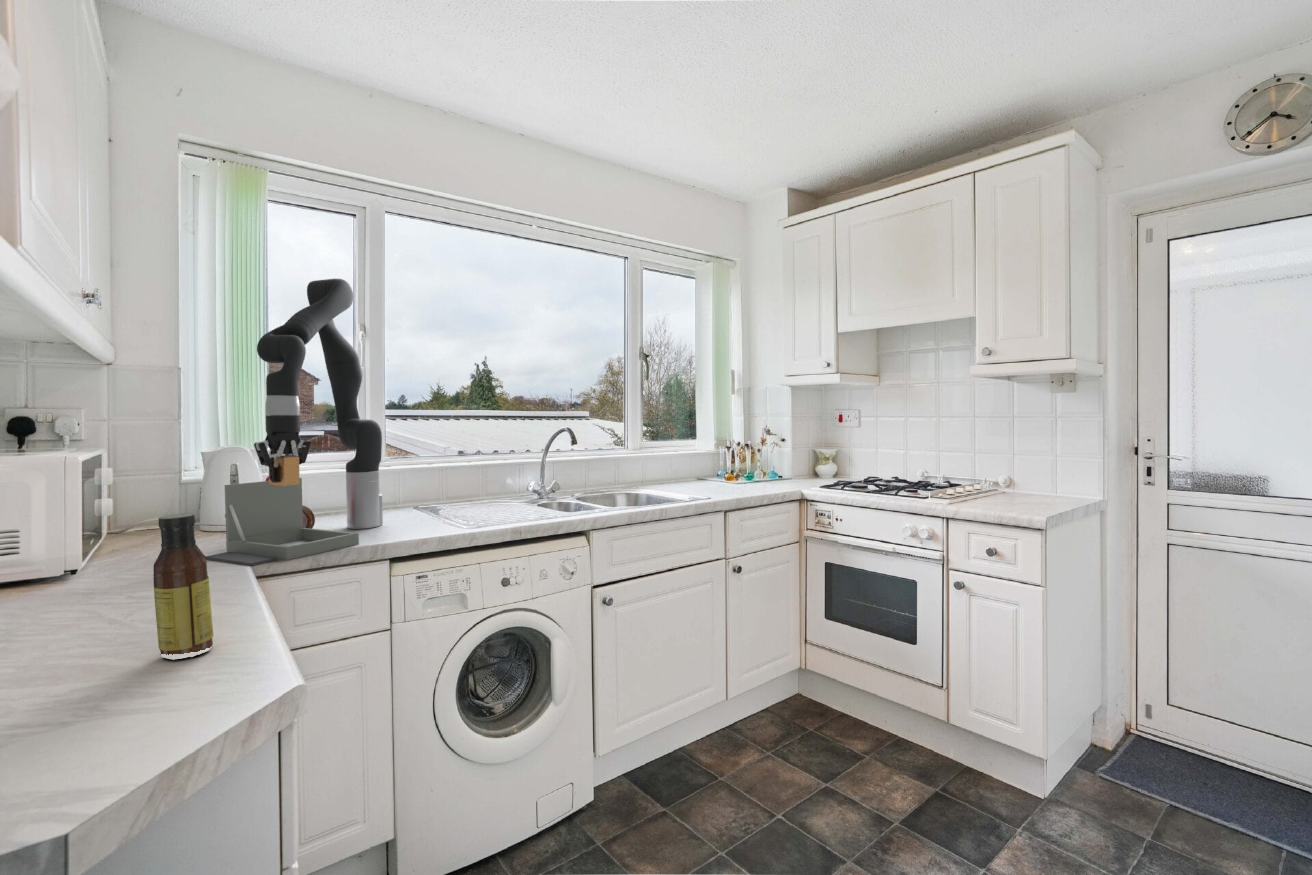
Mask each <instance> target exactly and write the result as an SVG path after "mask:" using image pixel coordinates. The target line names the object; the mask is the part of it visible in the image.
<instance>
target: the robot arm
mask: <svg viewBox="0 0 1312 875" xmlns="http://www.w3.org/2000/svg"><path fill="white" fill-rule="evenodd" d="M306 297H307V302H308V304H309V305H308V306H306V307H304V308H301V309H300V310H298V311H297V312H295V313H294V314H293V315H292V316H290V318H289V319H287V321H286V322H285V323H284V324H282V325H280V326H278V327H276V328H274V329H272V330H270V331H268V332H266V333H264V334H263V335H262V336H261V338H259V340H258V342H257V345H256V351H257V354H258V356H259V359H261V360H262V361H263V362H266V363H270V364H283V365H282V366H281V368H280V370H278V371H274V372H270V373H268V374H267V375H266V378H265V385H266V386H265V388H266V389H265V391H266V393H265V394H266V397H265V398H266V399H265V404H264V405H265V406H264V410H265V411H264V413H265V432H266V437H265V438H264V440H262V441H259V442H254V444H253V447H254V449H255V452H256V456H257V457H258V461H259V463H260V465H261V466H265V467H268V476H269V479H270V480H271V482H273V483H277V482H279V468H278V466H279V459H280V458H282V455H297V457H299V466H300V465H302V464H305V463H306V462H307V458H308V455H309V452H310V448H311V445H312V444H311V441H309V440H304V439H301V436H300V432H301V411H300V410H301V406H300V405H301V404H300V400H299V398H300V397H299V379H300V376H301V372H302V367H303V365H304V361H305V358H306V355H307V354H306V353H307V352H306V351H307V349H306V345H307V344H309V342H310V341H312V339H313V338H314V337H315V335H316V334H318V335H319V339H320V344H321V347H322V352H323V357H324V363H325V367H326V370H327V376H328V378H329V379H328V380H329V382H330V388H331V392H332V397H333V402H334V408H335V414H336V425H337V432H338V436H339V440H340V442H341V444H342V445H343V446H344V447H345V448H346V449H348V450H355V455H354V457H353V458H352V459H351V460H349V461H348V462H346V464H345V481H346V482H345V483H346V484H345V486H346V488H345V489H346V490H345V492H346V523H347V525H346V526H347V529H352V530H354V529H355V530H358V529H372V528H376V527H380V526H383V525H384V522H383V520H384V519H383V517H384V516H383V515H384V514H383V494H380V471H379V470H380V464H381V461H382V452H383V451H382V448H383V446H382V445H383V434H382V429H381V426H380V424H378V422H377V421H375V420H372V419H365V418H364V419H363V418H362V419H361V417H360V415H359V410H358V395H359V393H360V390H361V389H360V388H361V386H362V381H363V372H362V371H363V370H362V367H361V362H360V361H361V360H360V357H359V354H358V352H357V351H356V349H355V348H354V346H352V345H351V343H350V342H349V340H347V339H346V338H345V337H344V336H343V334H341V332H340V331H339V329H338V327H337V326H336V324H335V321H334V319H335V318H336V317H338V316H339V315H340V314H342V313H344V312H346V311H347V310H348V309H349V308H351V306H352V305H353V302H354V291H353V289H352V286H351V285H350V283H349V282H348V281H347V280H345V279H342V278H330V279H329V278H327V279H319V280H318V279H317V280H312V281H309V283H308V284H307V287H306ZM268 448H269V451H268ZM297 448H298V449H297Z"/></svg>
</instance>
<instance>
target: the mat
mask: <svg viewBox="0 0 1312 875" xmlns="http://www.w3.org/2000/svg"><path fill="white" fill-rule="evenodd" d="M205 557H206V561H207V560H208V561H213V562H214V561H216V562H221V563H231V564H235V565H243V566H244V565H245V566H250V567H253V566H257V565H261V564H267V563H271V562H276V561H278V559H277V558H275V557H267V556H259V555H252V554H244V553H237V552H227V551H226V552H221V553H216V554H210V555H206V556H205Z"/></svg>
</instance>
